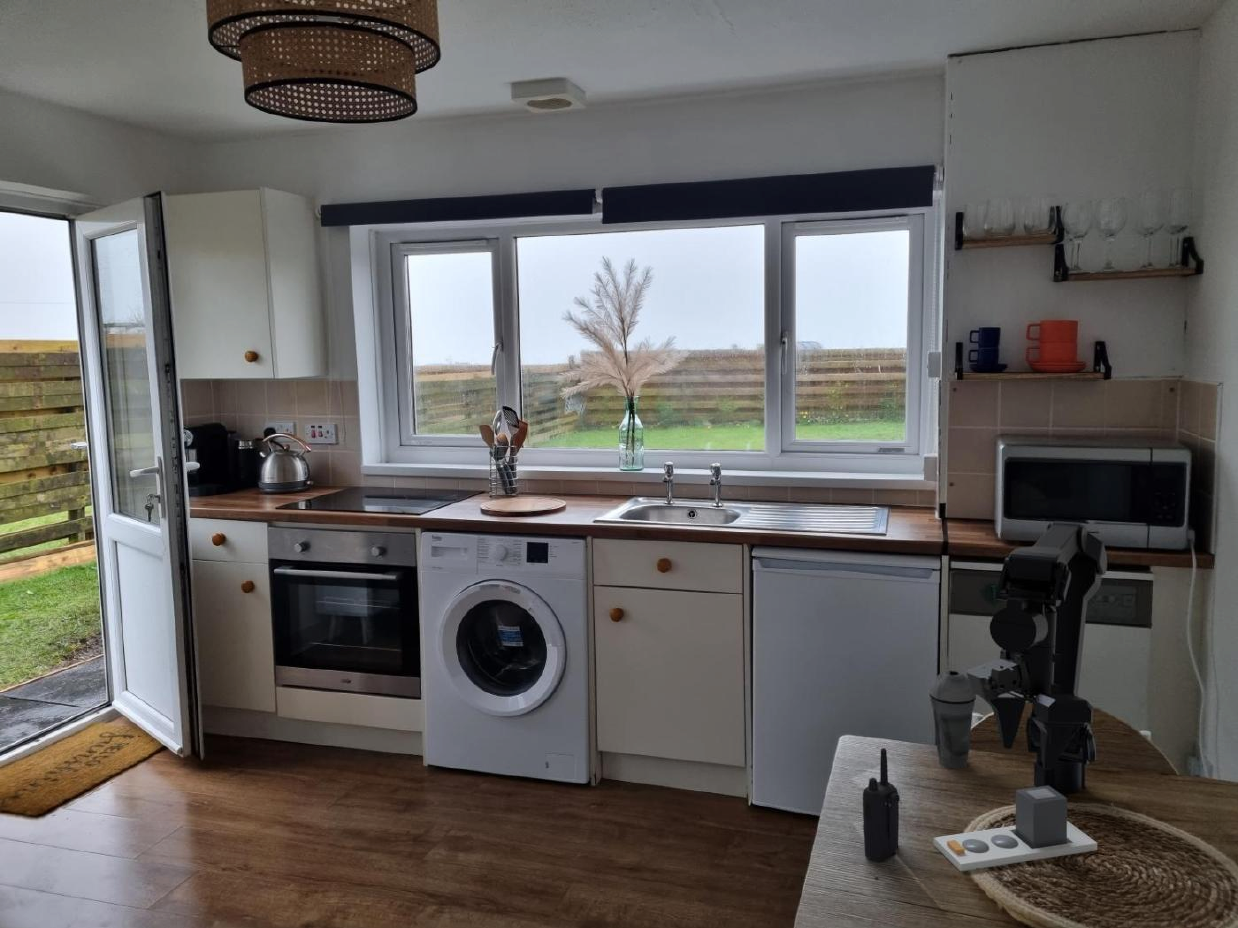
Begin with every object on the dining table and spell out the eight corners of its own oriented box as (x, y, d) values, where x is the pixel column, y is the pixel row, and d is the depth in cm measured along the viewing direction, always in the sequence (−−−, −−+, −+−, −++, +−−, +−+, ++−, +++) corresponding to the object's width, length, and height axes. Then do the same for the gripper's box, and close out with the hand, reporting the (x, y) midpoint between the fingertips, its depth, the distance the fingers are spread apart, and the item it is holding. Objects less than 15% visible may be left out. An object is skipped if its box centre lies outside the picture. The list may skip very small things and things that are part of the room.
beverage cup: (979, 772, 152) (979, 653, 149) (932, 770, 153) (931, 652, 151) (972, 753, 159) (971, 639, 157) (927, 751, 160) (926, 639, 158)
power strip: (1063, 831, 133) (1063, 814, 132) (1097, 856, 126) (1097, 838, 125) (933, 851, 129) (933, 833, 129) (960, 878, 122) (960, 859, 122)
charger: (1048, 832, 130) (1048, 784, 130) (1066, 847, 127) (1067, 797, 126) (1015, 837, 130) (1015, 789, 129) (1033, 852, 126) (1033, 802, 125)
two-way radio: (885, 843, 132) (883, 741, 130) (911, 856, 128) (909, 752, 126) (858, 856, 129) (856, 752, 127) (884, 870, 125) (882, 763, 123)
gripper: (942, 630, 135) (937, 738, 135) (1017, 655, 117) (1011, 780, 116) (1013, 632, 137) (1008, 738, 137) (1098, 657, 118) (1092, 780, 118)
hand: (1026, 758), depth 127 cm, fingers open, 9 cm apart
